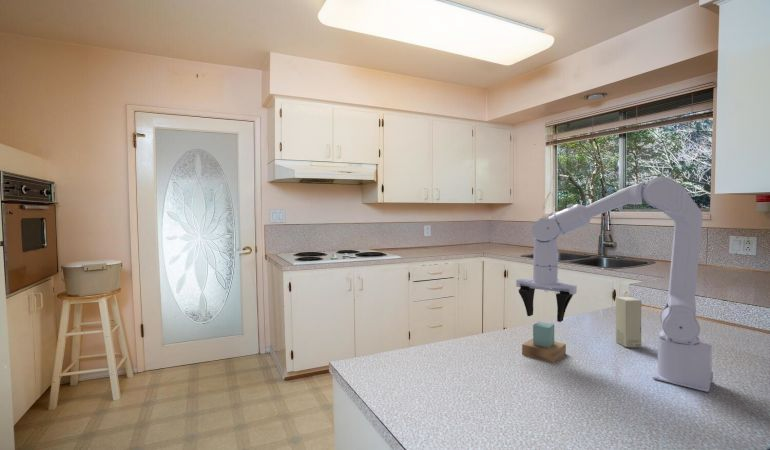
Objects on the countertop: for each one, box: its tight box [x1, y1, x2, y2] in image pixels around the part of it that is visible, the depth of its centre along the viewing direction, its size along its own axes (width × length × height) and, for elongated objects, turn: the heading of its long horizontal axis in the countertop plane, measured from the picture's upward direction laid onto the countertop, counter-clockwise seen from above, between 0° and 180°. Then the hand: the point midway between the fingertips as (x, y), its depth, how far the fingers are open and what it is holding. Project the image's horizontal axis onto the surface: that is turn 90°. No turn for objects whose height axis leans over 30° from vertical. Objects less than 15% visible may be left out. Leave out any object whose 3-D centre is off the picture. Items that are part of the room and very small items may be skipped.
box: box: [615, 296, 642, 348], centre depth 106 cm, size 5×4×13 cm
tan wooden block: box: [521, 338, 567, 364], centre depth 99 cm, size 8×8×3 cm
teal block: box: [532, 321, 555, 348], centre depth 99 cm, size 4×4×5 cm
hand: (544, 318), depth 99 cm, fingers open, 7 cm apart
